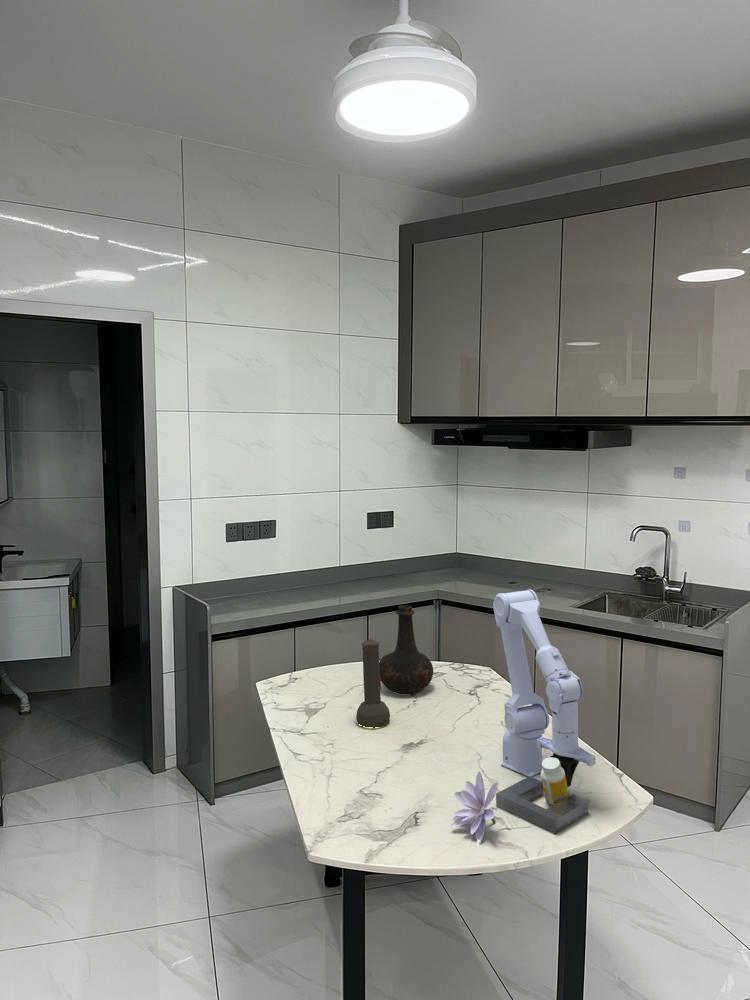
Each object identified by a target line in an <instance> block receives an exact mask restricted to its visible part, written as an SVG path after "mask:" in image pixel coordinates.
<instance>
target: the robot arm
mask: <svg viewBox="0 0 750 1000" xmlns="http://www.w3.org/2000/svg"><path fill="white" fill-rule="evenodd" d="M492 608H493V613H494V618H495V624H496V627H498V628H500V633H501V638H502V643H503V648H504V649H503V650H504V655H505V660H506V666H507V671H508V677H509V681H510V688H511V693H512V694H511V696H510V697H509V698H508V700H506V702H505V703H504V705H503V706H504V724H505V728H506V730H505V731H504V734H503V736H502V761H501V763H500V765H501V766H502V767H505V768H507V769H509V770H511V771H514V772H516V773H519V774H521V775H524V776H525V777H529V776H531V777H534V776H536V775H537V774H539V773H540V774H541V771H542V769H543V768H542V762H543V749H545V750H548V751H549V752H550V751H551V752H552V755H551V756H550V757H553V758H557V759H558V760H559V761H560V765H561V767H562V768H563V769H564V771H565V776H566V782H567V787H568V788H569V787H571V786H572V781H573V778H574V774H575V772H576V769H577V768H578V765H579V764H580V762H581V763H584V764H586V766H587V767H590V768H591V767H593V766H594V765H596V755H595V754H592V753H590V752H588V751H587V750H585V749H584V748H582V747H580V745H579V716H578V715H579V709H578V708H579V707H578V705H579V704H578V703H579V701H580V700H582V699H583V696H584V687H583V683H582V682H581V679H580V677H579V676H578V675H576V674H574V672H573V671H572V670H569V668H568V666H567V663H566V662H565V660H564V658H563V656H562V654H561V652H560V650H559V649H558V648H557V647H555V646H553V645H552V644H551V642H550V640H549V637H548V635H547V632H546V629H545V627H544V625H543V622H542V620H541V617H540V611H541V610H540V608H541V604H540V599H539V597H538V595H537V594H536V592H535V591H534V590H532V589H530V588H529V589H526V590H521V591H520V590H519V591H513V592H506V593H505V592H504V593H503V592H501V593H500V592H499V593H496V596H495V597H494V601H493V603H492ZM523 630H524V631H525V633H526V635H527V637H528V639H529V640H530V642H531V644H532V646H533V647H534V649H535V650H536V655H535V661H536V663H537V666H538V668H539V669H540V671H541V673H542V675H543V676H542V677H544V680H545V682H546V687H545V692H546V696H547V699H548V705H549V708H550V710H551V727H552V728H551V737H552V738H547V737H543V735H544V734H545V731H546V729H548V727H549V725H550V714H549V712H548V710H547V708H546V705H545V702H544V701H545V700H544V698H543V697H541V696H540V695H538V694H536V693H535V692H534V688H533V682H532V677H531V673H530V672H531V671H530V667H529V661H528V656H527V652H526V650H527V649H526V646H525V639H524V636H523Z"/></svg>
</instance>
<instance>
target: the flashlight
mask: <svg viewBox="0 0 750 1000" xmlns="http://www.w3.org/2000/svg"><path fill="white" fill-rule="evenodd" d="M361 646H362V648H361V649H362V669H363V670H362V674H363V696H364V697H363V698H364V699H363V700H364V701H361V703H360V705H359V706H358V708H357V710H356V715H355V719H356V722H358V724H360V725H362V726H365V727H373V728H375V727H382V726H385V727H387V726H388V725H389V724H390V719H391V713H390V709H389V707H388V706H387V704H386V703H385V702H384V701H383V700H381V697H382V695H381V694H382V693H381V688H382V682H381V678H380V668H379V662H380V651H379V649H380V648H379V647H380V646H379V641H377V640H374V639H371V638H369V639H368V640H365V641H363V642H362V644H361ZM358 724H357V725H358ZM387 724H388V725H387ZM386 725H387V726H386ZM382 728H383V727H382Z"/></svg>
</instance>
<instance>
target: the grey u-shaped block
mask: <svg viewBox="0 0 750 1000" xmlns="http://www.w3.org/2000/svg"><path fill="white" fill-rule="evenodd" d="M543 795H544V789H543V784H542V779H538V778H535V777H534V776H532V777H531V776H529V777H528V776H526V777H525V778H523V779H521V780H519V781H518V782H515V783H513V784H511V785H509V786H508V787H506V788H504V789H502V790H500V791H498V792H496V793H495V801H496V802H495V806H496V807H497V808H498V809H500V810H503V811H505V812H507V813H510V814H512V815H514V816H516V817H518V818H520V819H523V820H525V821H526V822H528V823H530V824H533V825H535V826H537V827H538V828H539V827H540V828H541V829H543V830H546V831H548V832H549V833H552V834H554V835H556V834H558V833H559V832H561V831H563V830H565V829H566V828H568V827H570V826H571V825H573V824H574V823H576V822H577V821H579V820H580V819H582V818H584V817H585V816H587V815H588V814H589V810H590V807H589V800H588V799H586V798H583V797H582V796H579V795H576V794H575V793H572V794H571V795H570V794H569V797H567V798H565V799H564V800H562V801H560V802H558V803H557V804H555V805H551V806H550V807H548V808H545V807H543V806H541V805H538V804H536V803H533V802H532V801H534V800H536V799H538V798H539V797H542V796H543Z"/></svg>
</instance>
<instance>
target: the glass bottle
mask: <svg viewBox="0 0 750 1000" xmlns="http://www.w3.org/2000/svg"><path fill="white" fill-rule="evenodd" d="M397 608H398V610H397V611H396V612H395V615H396V614H397V615H398V622H397V623H398V624H397V625H398V626H397V627H398V629H397V639H396V640H397V641H396V646H395V649H394V651H392V652H390V653H388V654H385V655H383V656H382V657H381V658H380V659H379V668H380V678H381V685H383V686H384V687H385V688H386V689H387V690H389V691H390V692H392V693H394V692H395V693H394V694H397V693H398V695H402V694H410V695H415V694H417V693H418V694H419V693H420V692H422V691H423V690H425V689H426V688H427V687H428V686H429V684H430V683H431V681H432V679H433V678H434V677H433V676H434V667H433V663H432V661H431V660H430V658H429V657H428V656H427V655H425V654H423V653H422V652H419V650H418V647H417V643H416V640H415V633H414V631H415V630H414V624H413V615H414V614H415V611H414V610H412V608H413V607H412V606H411V605H405V604H404V605H403V604H402V605H398V606H397Z"/></svg>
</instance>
